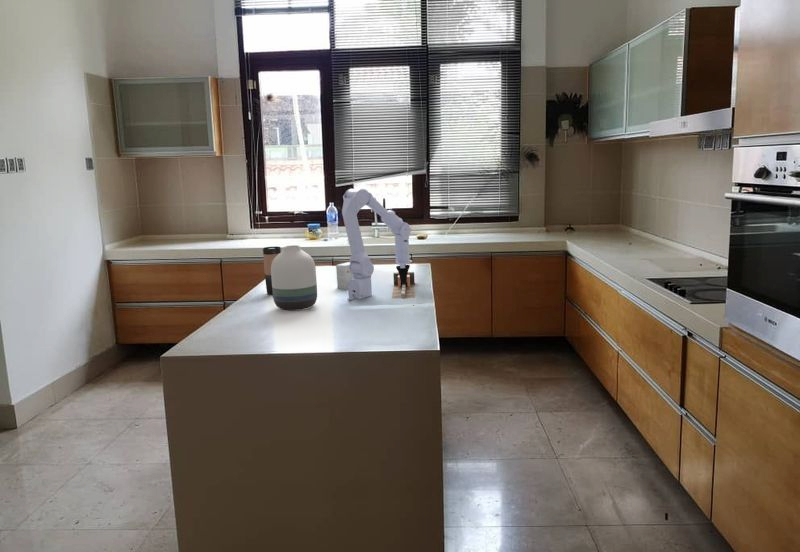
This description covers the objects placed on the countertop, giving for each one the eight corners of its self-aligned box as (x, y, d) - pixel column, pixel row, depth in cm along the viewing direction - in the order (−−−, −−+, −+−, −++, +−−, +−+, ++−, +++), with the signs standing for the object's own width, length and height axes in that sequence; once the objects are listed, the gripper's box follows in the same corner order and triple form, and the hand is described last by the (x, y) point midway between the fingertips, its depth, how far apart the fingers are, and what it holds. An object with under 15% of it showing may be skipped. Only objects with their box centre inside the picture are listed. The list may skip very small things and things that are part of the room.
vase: (269, 306, 253) (264, 246, 249) (311, 301, 259) (307, 242, 255) (279, 315, 237) (274, 250, 233) (323, 309, 244) (319, 246, 240)
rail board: (414, 300, 252) (414, 285, 251) (391, 301, 252) (391, 286, 251) (414, 285, 283) (414, 271, 282) (394, 285, 283) (393, 272, 282)
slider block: (410, 287, 272) (409, 276, 272) (398, 287, 273) (397, 277, 272) (410, 284, 278) (409, 274, 277) (398, 285, 278) (398, 275, 277)
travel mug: (287, 292, 280) (284, 247, 276) (273, 295, 274) (269, 249, 271) (277, 290, 285) (273, 246, 281) (262, 293, 279) (259, 248, 276)
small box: (349, 284, 291) (348, 262, 289) (358, 286, 287) (357, 262, 285) (337, 288, 285) (335, 264, 283) (346, 289, 281) (344, 265, 279)
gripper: (411, 252, 261) (413, 285, 264) (411, 247, 276) (413, 278, 278) (394, 253, 262) (396, 286, 264) (395, 248, 276) (396, 279, 278)
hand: (403, 282), depth 271 cm, fingers closed
